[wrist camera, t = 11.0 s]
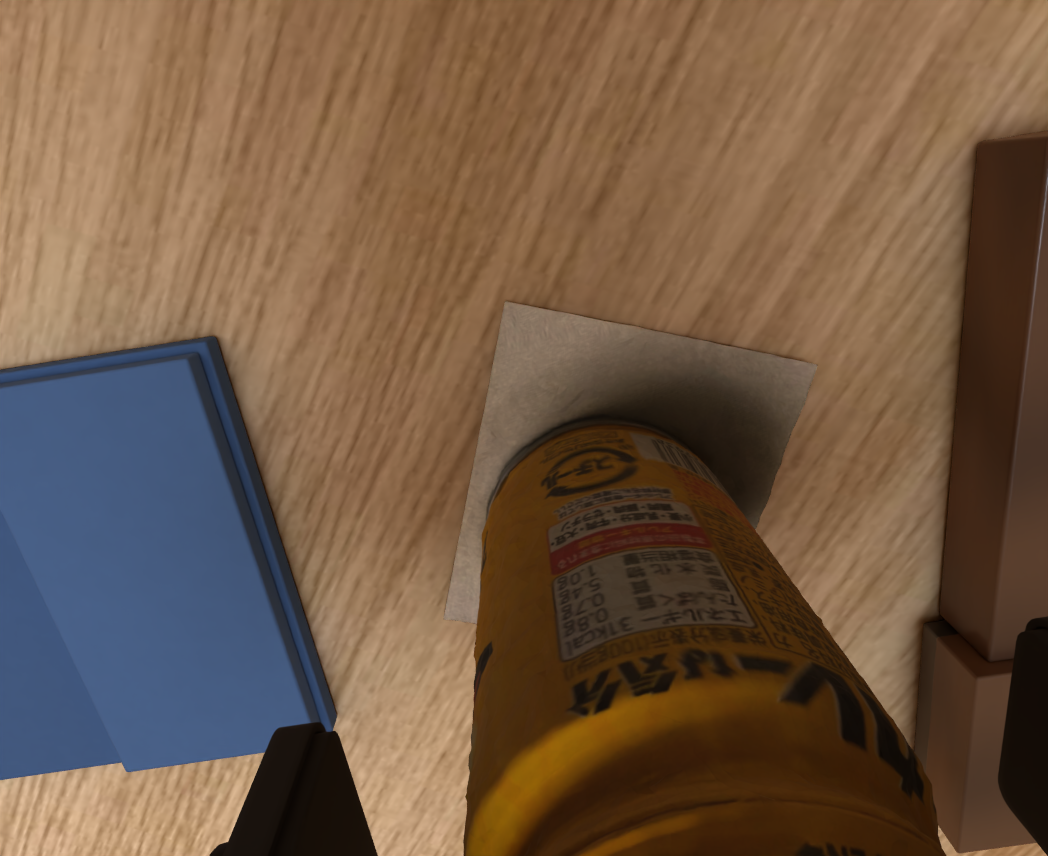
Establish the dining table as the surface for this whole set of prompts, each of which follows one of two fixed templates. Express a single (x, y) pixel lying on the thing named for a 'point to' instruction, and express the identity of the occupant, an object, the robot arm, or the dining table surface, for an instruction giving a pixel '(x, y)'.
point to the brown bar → (991, 499)
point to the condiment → (656, 616)
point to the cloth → (141, 570)
